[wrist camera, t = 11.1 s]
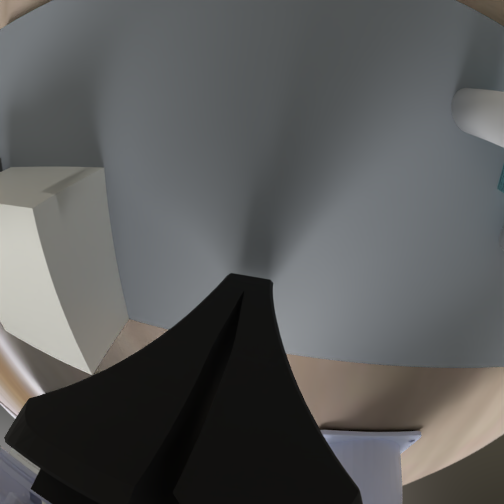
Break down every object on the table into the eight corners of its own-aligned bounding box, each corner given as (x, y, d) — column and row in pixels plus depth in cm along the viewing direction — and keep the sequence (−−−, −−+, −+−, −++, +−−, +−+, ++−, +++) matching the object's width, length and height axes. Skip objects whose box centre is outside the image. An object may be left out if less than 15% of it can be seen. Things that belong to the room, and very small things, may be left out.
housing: (129, 318, 13) (92, 375, 10) (42, 290, 13) (5, 330, 10) (104, 167, 9) (32, 208, 6) (10, 167, 10) (-46, 198, 7)
